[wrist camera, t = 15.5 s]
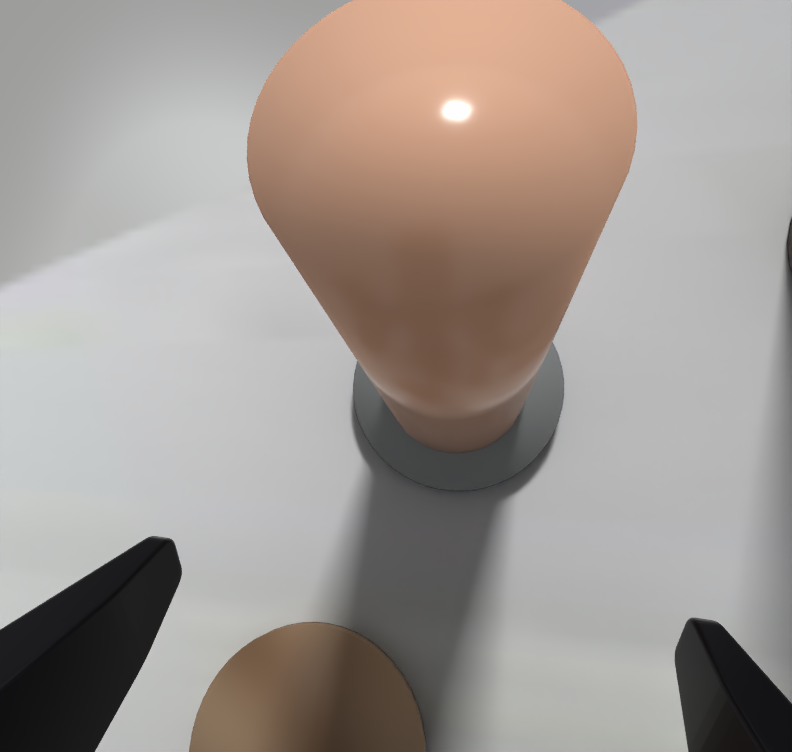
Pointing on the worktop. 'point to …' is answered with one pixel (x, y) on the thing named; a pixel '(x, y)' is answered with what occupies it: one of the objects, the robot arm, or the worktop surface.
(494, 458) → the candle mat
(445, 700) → the worktop surface
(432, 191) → the post
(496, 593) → the worktop surface
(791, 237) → the pillar candle
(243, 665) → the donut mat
